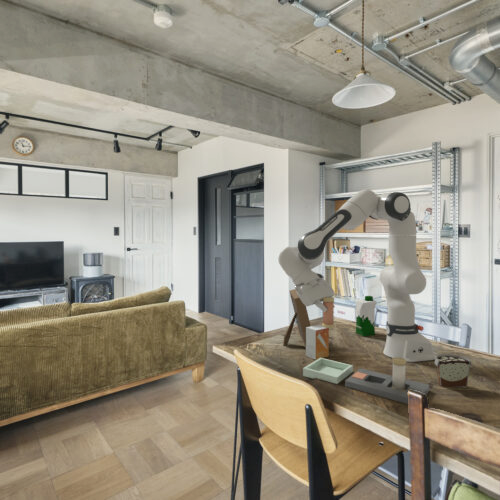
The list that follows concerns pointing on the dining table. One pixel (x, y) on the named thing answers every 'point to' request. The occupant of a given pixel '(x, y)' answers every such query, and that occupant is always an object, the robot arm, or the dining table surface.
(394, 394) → the block
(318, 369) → the tray
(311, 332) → the small box
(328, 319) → the marked fuse
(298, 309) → the photo frame
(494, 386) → the dining table surface
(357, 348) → the dining table surface
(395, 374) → the cylinder
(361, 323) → the milk carton
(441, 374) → the food container
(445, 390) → the dining table surface
